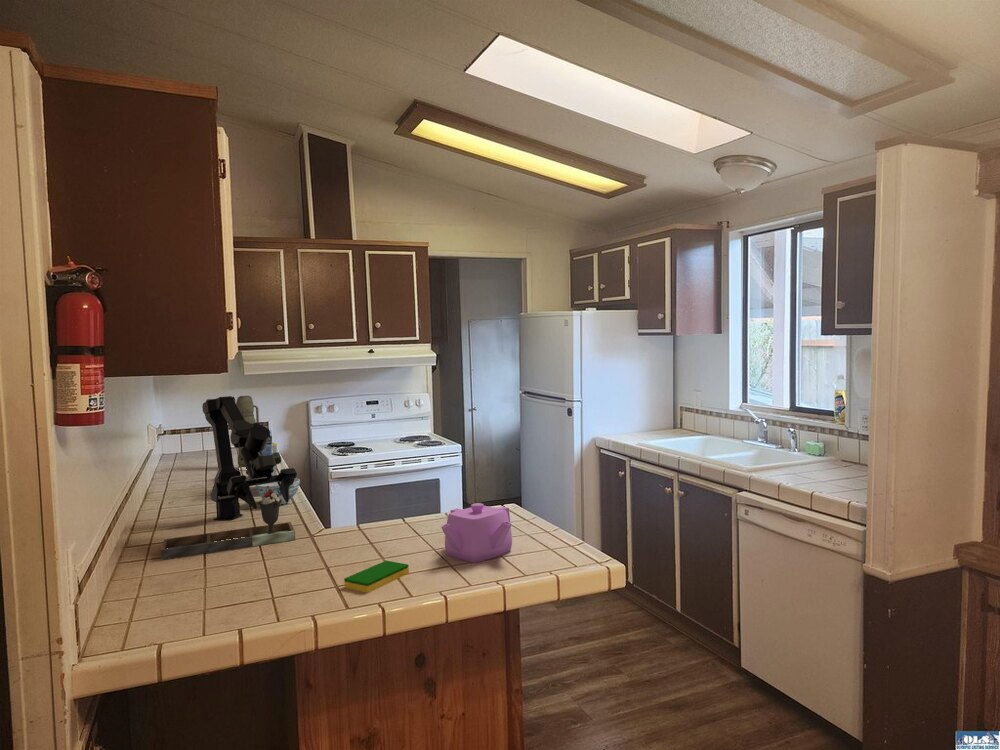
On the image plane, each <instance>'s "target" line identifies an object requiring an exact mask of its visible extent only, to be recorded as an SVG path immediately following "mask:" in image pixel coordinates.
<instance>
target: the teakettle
mask: <svg viewBox="0 0 1000 750" xmlns="http://www.w3.org/2000/svg"><path fill="white" fill-rule="evenodd" d="M440 528H441V531H442V532H443V534H444V548H445V549H444V550H445V551H446V552H445V553H446V554H447V556H449V557H452V558H455V559H458V560H461V561H465V562H469V563H473V564H474V563H480V562H483V561H488V560H490V559H494V558H497V557H499V556H503V555H505V554H506V553H509V552H510V551H511V549H512V545H513V536H512V535H513V534H512V523H511V516H510V507H508V506H507V507H506V506H499V507H493V506H488V505H484V503H482V502H477V503H472V504H470V507H466V508H454V509H450V512H449V514H448V515H447V519H446V523H445V524H443V525H441V526H440Z"/></svg>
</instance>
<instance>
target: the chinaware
mask: <svg viewBox="0 0 1000 750" xmlns="http://www.w3.org/2000/svg"><path fill="white" fill-rule="evenodd" d="M300 484H301V480H300V478H297V477H296V478H295V480H294V482H293V484H292V485H291V486H290V487H289V501H290V500H291V499H292V498H293V497H294V496H295V495H296V494H297V492H298V490H299V487H300ZM254 486H255V490H256V491H257V493H258V495H259V497H260V498H261V499H263V497H264V495H265V494H266V490H267V492H268V491H269V489H270V490H272V491H273V492H275V493H276V494H278V495H279V497H278V498H279V499H282V502H281V503H280V505H279V506H282V505H281V504H284V505H286V504H285V503H286V501H285V500H284V498H283V496H282V494H281V492H280V490H279V488H280V486H279V485H278V483H277V482H275V483H269V484H263V485H254ZM267 486H268V488H269V489H268V488H267Z"/></svg>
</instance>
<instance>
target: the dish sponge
mask: <svg viewBox="0 0 1000 750" xmlns="http://www.w3.org/2000/svg"><path fill="white" fill-rule="evenodd" d="M409 571H410V570H409V564H408V563H403V562H402V563H401V562H396V561H393V560H392V561H391V560H384V561H381V562H380V563H377V564H375V565H373V566H370V567H368V568H366V569H363V570H361V571H359V572H356V573H354V574H352V575H349V576H347V577H344V579H343V580H344V589H349V590H352V591H358V592H363V593H365V594H366V593H367V594H368V593H370V592H372V591H374V590H377V589H379V588H381V587H383V586H385V585H387V584H389V583H392V582H393V581H396V580H397V579H400V578H402V577H403V576H406V575H408V574H409V573H410V572H409Z"/></svg>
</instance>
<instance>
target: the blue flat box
mask: <svg viewBox="0 0 1000 750" xmlns="http://www.w3.org/2000/svg"><path fill="white" fill-rule="evenodd" d="M269 430H270V429H269ZM272 443H273V434H272V430H270V437H269V439H268V442H267V445H266V447H265V449H264V450H263V451H262V453H263V455H264V456H265V455H271V454H273V446H272ZM271 475H272V476H274V472H273V473H271Z"/></svg>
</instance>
